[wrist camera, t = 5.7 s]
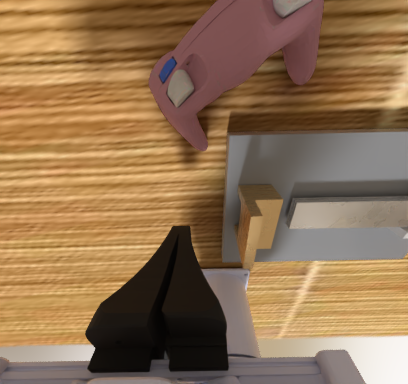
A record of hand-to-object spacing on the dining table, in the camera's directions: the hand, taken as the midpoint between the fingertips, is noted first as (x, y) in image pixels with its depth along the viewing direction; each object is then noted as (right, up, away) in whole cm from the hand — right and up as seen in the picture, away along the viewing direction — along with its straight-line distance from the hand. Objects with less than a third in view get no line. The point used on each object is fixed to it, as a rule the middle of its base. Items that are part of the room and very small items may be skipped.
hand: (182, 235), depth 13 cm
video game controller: (+4, +12, -1) cm, 12 cm away
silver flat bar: (+16, +2, +2) cm, 16 cm away
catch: (+6, +2, +3) cm, 7 cm away
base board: (+15, +3, +4) cm, 16 cm away
